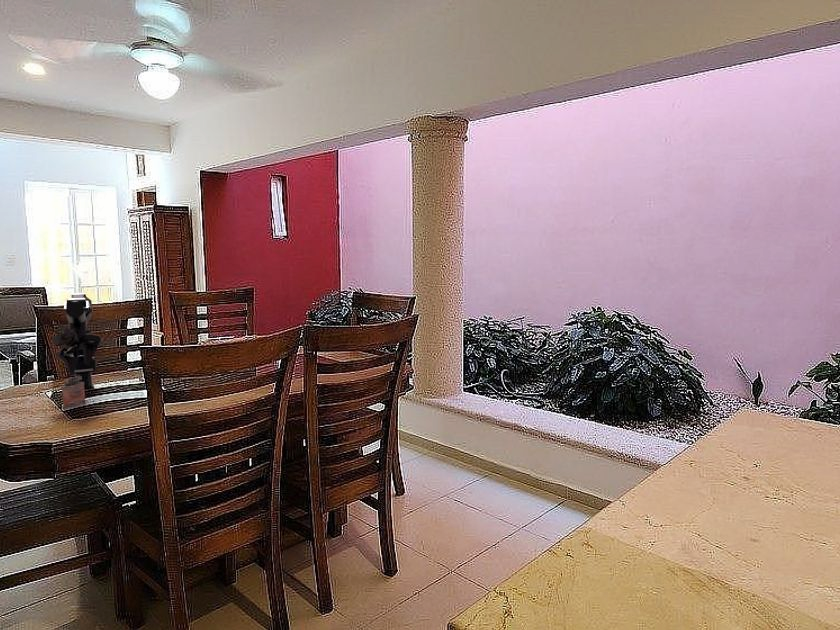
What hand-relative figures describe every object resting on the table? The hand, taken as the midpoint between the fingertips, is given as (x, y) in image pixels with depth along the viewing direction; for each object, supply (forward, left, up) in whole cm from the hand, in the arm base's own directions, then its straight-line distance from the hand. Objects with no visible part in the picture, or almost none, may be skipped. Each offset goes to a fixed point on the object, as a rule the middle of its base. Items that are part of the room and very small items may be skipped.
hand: (79, 369), depth 205 cm
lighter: (+6, -3, -12) cm, 14 cm away
